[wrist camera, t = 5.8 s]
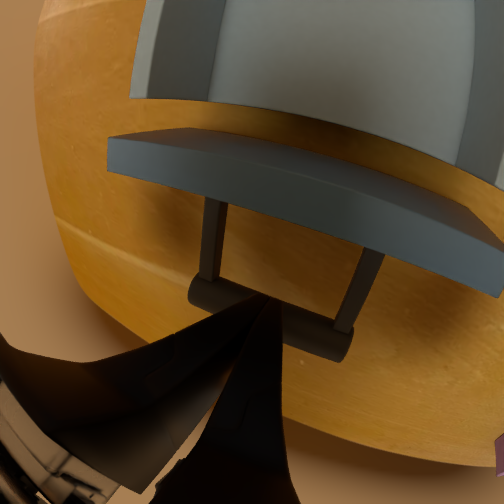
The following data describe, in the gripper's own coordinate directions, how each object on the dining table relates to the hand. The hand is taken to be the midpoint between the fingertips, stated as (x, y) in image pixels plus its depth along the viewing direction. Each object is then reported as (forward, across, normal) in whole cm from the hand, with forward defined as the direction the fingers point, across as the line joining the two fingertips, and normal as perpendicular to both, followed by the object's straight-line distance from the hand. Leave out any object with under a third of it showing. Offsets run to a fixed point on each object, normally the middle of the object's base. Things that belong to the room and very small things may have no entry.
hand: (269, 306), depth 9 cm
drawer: (+5, 0, -10) cm, 11 cm away
